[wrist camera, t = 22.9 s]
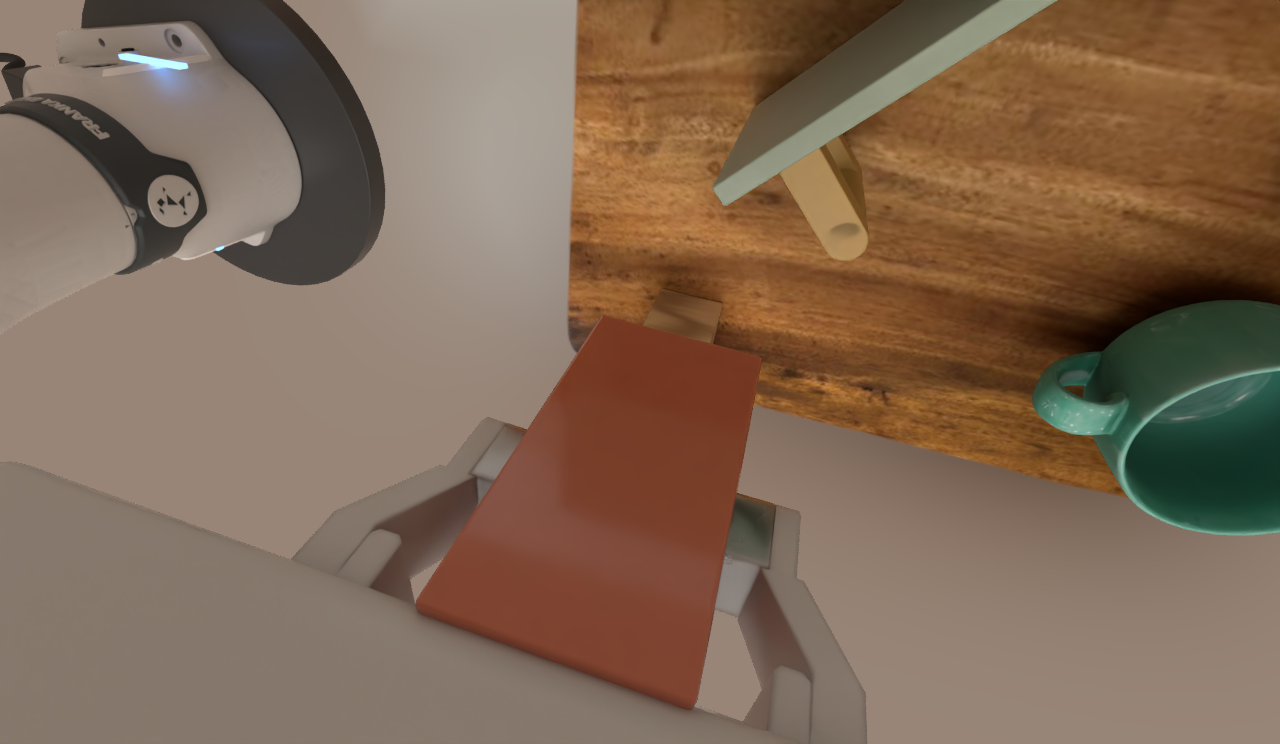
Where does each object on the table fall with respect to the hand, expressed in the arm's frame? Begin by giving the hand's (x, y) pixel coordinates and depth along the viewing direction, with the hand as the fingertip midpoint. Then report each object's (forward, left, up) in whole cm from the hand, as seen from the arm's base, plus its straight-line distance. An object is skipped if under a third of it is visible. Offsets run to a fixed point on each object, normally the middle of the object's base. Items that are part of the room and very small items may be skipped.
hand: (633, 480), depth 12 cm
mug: (+28, -9, -32) cm, 43 cm away
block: (0, 0, -3) cm, 3 cm away
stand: (-3, -16, -31) cm, 35 cm away
